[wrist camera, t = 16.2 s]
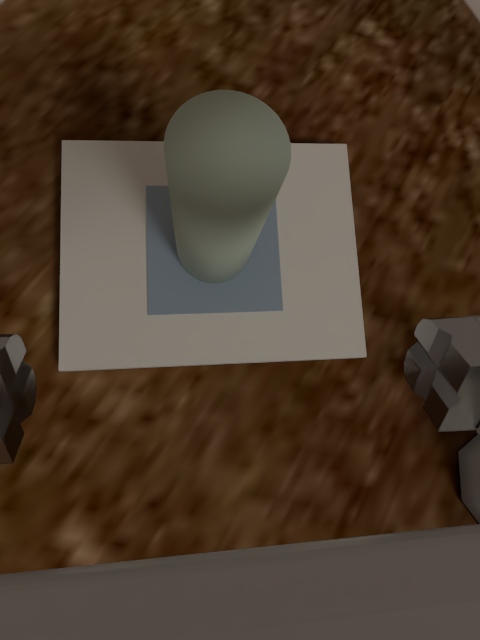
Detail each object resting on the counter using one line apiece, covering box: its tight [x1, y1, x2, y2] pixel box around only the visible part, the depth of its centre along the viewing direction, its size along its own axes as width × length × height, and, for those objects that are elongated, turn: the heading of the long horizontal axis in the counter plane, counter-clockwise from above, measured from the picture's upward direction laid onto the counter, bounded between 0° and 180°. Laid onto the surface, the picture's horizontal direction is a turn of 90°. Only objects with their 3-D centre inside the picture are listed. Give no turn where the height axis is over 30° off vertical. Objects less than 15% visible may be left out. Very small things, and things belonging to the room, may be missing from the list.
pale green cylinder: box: [164, 90, 291, 283], centre depth 20 cm, size 4×4×11 cm
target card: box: [59, 140, 367, 371], centre depth 26 cm, size 18×14×1 cm
